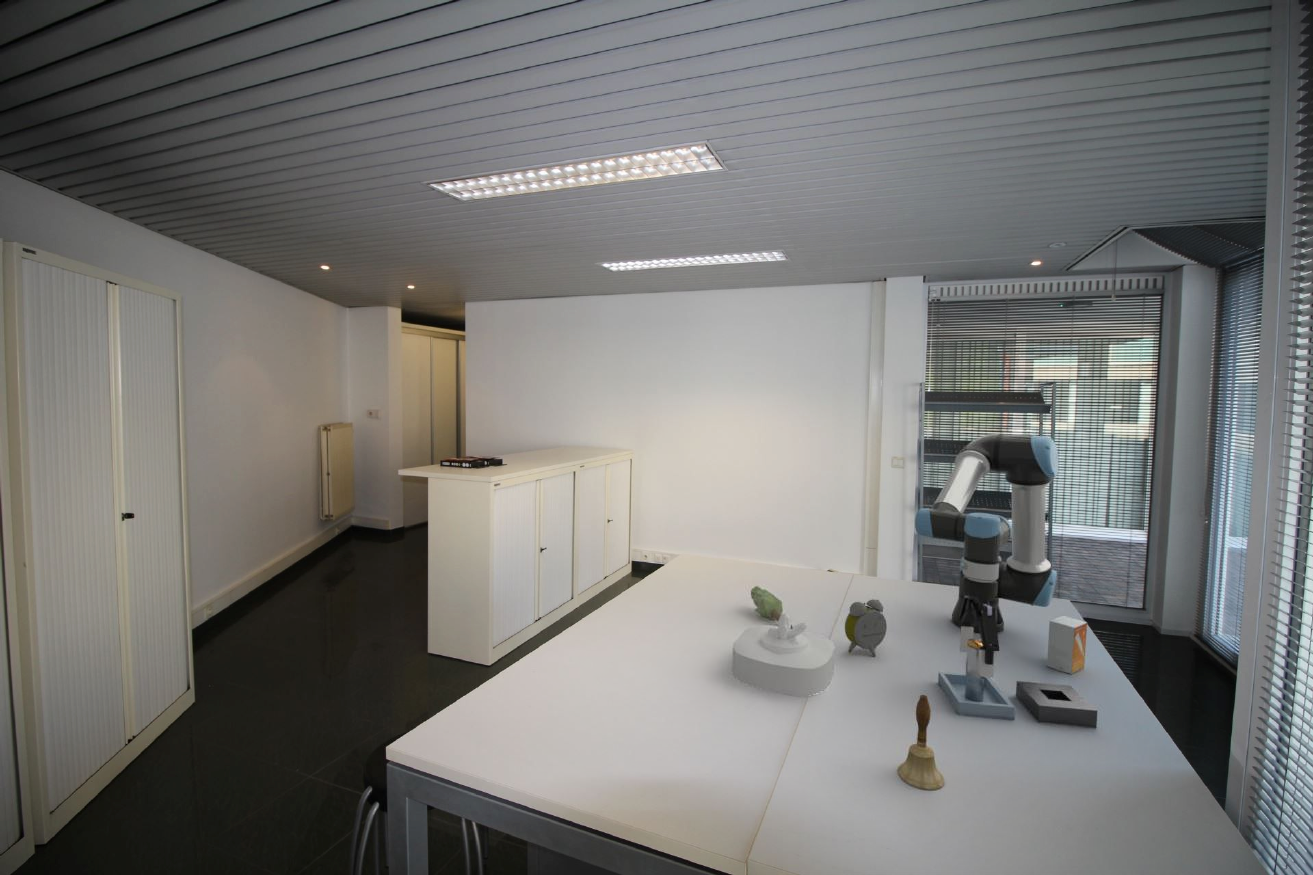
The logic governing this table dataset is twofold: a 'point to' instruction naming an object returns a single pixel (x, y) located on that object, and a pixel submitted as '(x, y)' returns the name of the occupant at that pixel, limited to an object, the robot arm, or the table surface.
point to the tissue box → (784, 659)
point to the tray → (990, 707)
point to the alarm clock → (865, 625)
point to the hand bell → (921, 755)
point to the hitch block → (1056, 704)
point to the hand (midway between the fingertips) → (975, 663)
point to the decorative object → (767, 603)
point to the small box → (1066, 644)
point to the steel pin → (974, 672)
